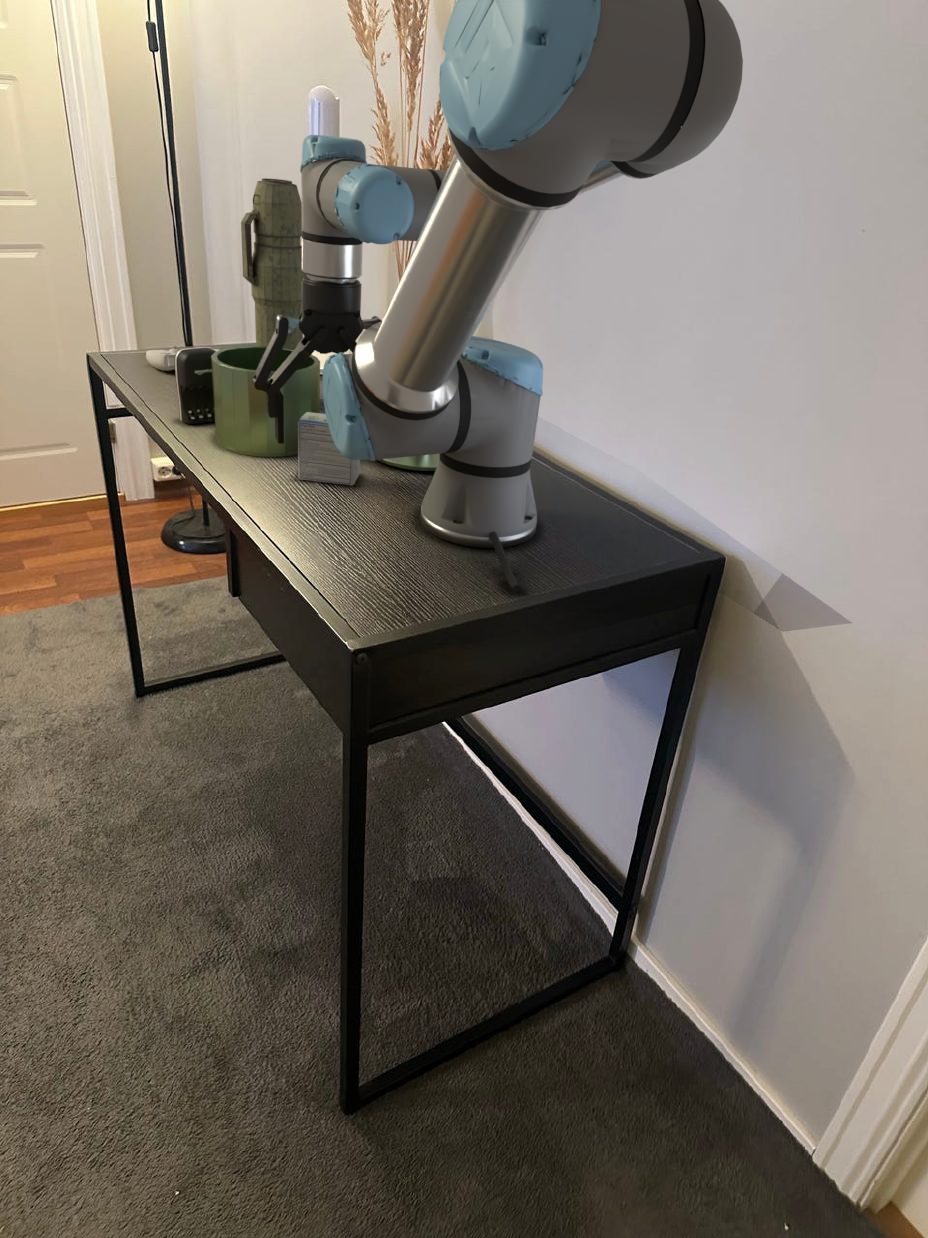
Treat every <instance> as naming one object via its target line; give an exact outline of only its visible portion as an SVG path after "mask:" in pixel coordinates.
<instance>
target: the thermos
mask: <svg viewBox="0 0 928 1238" xmlns="http://www.w3.org/2000/svg"><path fill="white" fill-rule="evenodd" d="M252 224H253V225H252ZM252 226H253V233H254V242H252ZM240 230H241V231H240V232H241V233H240V234H241V257H242V259H241V260H242V261H241V262H242V277H243V278H244V279H245V280H246V281H247V282H248V283H250V284H251V296H252V300H253V301H254V316H255V318H254V319H255V321H254V323H255V346H268V344H269V342H270V340H271V338H272V336H273V334H274V332H275V326H276V317H277V315H278V314H279V313H282V314H284V315H285V316H288V317H294V318H299V316H300V314H301V308H302V278H303V277H304V276H306V274H305V273H304V272H303V271H302V199H301V195H300V192H299V188H298V185H297V184H295V183H293V181H292V180H288V179H281V178H280V179H279V178H261V180H257V181H256V185H255V189H254V193H253V197H252V209H251V212H246V213H244V216H243V218H242V220H241V221H240ZM252 243H253V244H252ZM252 245H253V246H252ZM252 249H253V250H252ZM303 337H304V335H303V333H302V332H301V330H300V329H299V328H295V329H294V331H293V333H292V334H290V335H287V339H286V342H285V344H284V346H283V348H288V349H295V348H296V347H297V344H298V343H299V342H300V340H301V339H302V338H303Z"/></svg>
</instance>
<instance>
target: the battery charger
mask: <svg viewBox="0 0 928 1238" xmlns="http://www.w3.org/2000/svg"><path fill="white" fill-rule="evenodd" d="M213 349H214V348H212V347H209V346H197V347H186V348H181V349H179V351H178V352H177V353H176V355H175V369H174V376H175V385H176V386H175V387H176V392H177V393H176V394H177V400H178V417H179V420H180V421H181V422H182V423H186V424H189V425H199V424H207V423H208V424H209V423H213V422H214V423H215V413H214V396H213V378H212V361H211V356H212V355H213V354H214V353H215V352H216V351H214V350H213Z"/></svg>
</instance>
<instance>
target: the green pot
mask: <svg viewBox="0 0 928 1238" xmlns="http://www.w3.org/2000/svg"><path fill="white" fill-rule="evenodd" d="M266 348H267V346H256V345H244V346H233V347H228V348H227V347H226V348H223V349H219V350H220V351H217V352H215V353H214V354H213V355H212V356H211V361H212V378H213V396H214V413H215V421H214V427H215V428H214V429H215V437H216V443H217V444H218V445H219V446H220V447H222V448H223V449H226V450H227V451H229V452H232V453H236V454H239V455H245V456H249V457H257V458H259V457H260V458H286V457H293V456H298V421H299V420H300V418H301V417H302V416H303V415H304V414H305V413H306V412H312V413H321V361H320V360H319V358H318V357H317V356H315V355H313V354H311V355H310V356H309V357H307V358H306V360H305V361H304V362H303V363H302V364H301V365H300V367H299V368H298V369H297V370H296V371H295V372H294V374H293V375H292V376H291V377H290V378H289V380H288V381H287V382H286V383H285V384H284V385H283V387H282V388H281V389H280V391H281V392H282V394H283V402H284V444H278V442H277V440H276V437H275V418H270V417H269V415H268V412H267V397H266V392H264V391H262V390H257V389H255V387H254V385H253V383H252V378H253V375H254V373H255V371H256V369H257V367H258V365H259V363H260V361H261V359H262V357H263V355H264V353H265V351H266ZM293 351H294V349H288V348H282V350H281V352H280V354H279V356H278V358H277V360H276V363H275V365H274V367H273V369H272V371H271V373H270V375H269V377H268V379H267V380H269V379H270V378H271V377H272V375H273V374H274V373H275V372H276V371H277V369H278V368H279V367H280V366H281V365H282V364H283V362H284V361H285V360H286V359H287V358H288V356H289V355H290V354H291V353H292V352H293Z"/></svg>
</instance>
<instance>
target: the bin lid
mask: <svg viewBox="0 0 928 1238" xmlns="http://www.w3.org/2000/svg"><path fill="white" fill-rule="evenodd" d="M439 456H440V454H431V455H421V456H410V457H399V458H389V459H378V460H377V461H379V462H381V463H383V464H385V465H389V466H392V467H396V468H400V469H404V470H405V469H406V470H412V471H423V472H435V471H436V469H437V467H438V464H439Z"/></svg>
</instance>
